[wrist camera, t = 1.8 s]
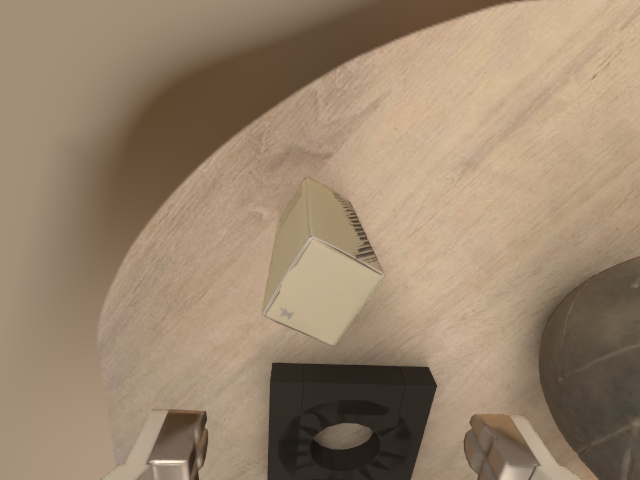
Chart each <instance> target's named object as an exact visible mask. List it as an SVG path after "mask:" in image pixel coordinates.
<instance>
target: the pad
mask: <svg viewBox="0 0 640 480" xmlns="http://www.w3.org/2000/svg"><path fill="white" fill-rule="evenodd" d="M436 387H437V385H436V383H435V380H434V378H433V376H432V374H431V371H430V369H429V367H403V366H400V367H399V366H369V365H331V364H292V363H272V371H271V380H270V410H269V446H268V480H411V476H412V473H413V469H414V466H415V462H416V458H417V455H418V451H419V448H420V444H421V441H422V437H423V434H424V430H425V426H426V423H427V419H428V416H429V412H430V409H431V405H432V402H433V398H434V395H435V391H436ZM341 423H357V424H360V425H363V426H367V427H369V428H370V429H372V430H373V431H374V432H375V433H374V434H373V435H372V436H371V438H370V439H369V440H368V441H367V442H365V443H363V444H362V445H360V446H359V447H355V448H351V449H348V450H332V449H328V448H325V447H322V446H320V445H319V444H318V443H316V442H315V441H314V440H313V438H314V437H315V436H316V434H318V433H319V432H321V431H322V430H324V429H325V428H327V427H329V426H333V425H337V424H341Z"/></svg>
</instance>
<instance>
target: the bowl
mask: <svg viewBox="0 0 640 480" xmlns="http://www.w3.org/2000/svg"><path fill="white" fill-rule="evenodd" d="M539 372H540V381H541V386H542V389H543V393H544V396H545V399H546V402H547V404H548V407H549V409H550V412H551V414H552V417H553V419H554V421H555V423H556V425H557V427H558V428H559V430H560V432H561V433H562V435H563V436H564V438H565V439H566V441H567V442H568V444H569V445H570V446H571V447H572V449H573V450H574V451H575V452H576V453H577V454H578V456H579V458H580V459H581V460H582V461H583V462H584V463H585V464H586V466H587V467H588V468H589V469H590V470H591V471H592V472H593V473H594V474H595V475H596V476H597V478H598V479H599V480H640V256H639V257H636V258H634V259H631V260H628V261H625V262H623V263H620V264H618V265H616V266H613V267H611V268H609V269H607V270H604V271H602V272H601V273H599V274H597V275H594V276H593V277H591V278H589V279H588V280H586V281H585V282H584V283H582V284H581V285H579V286H578V287H577V288H575V289H574V290H573V291H572V292H571V293H570V294H568V295H567V297H566V298H565V299H564V300H563V301H562V303H561V304H560V305H559V306H558V308H557V309H556V310H555V312H554V313H553V315H552V316H551V318H550V319H549V321H548V323H547V325H546V327H545V329H544V333H543V336H542V339H541V344H540V351H539Z"/></svg>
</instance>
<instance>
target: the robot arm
mask: <svg viewBox="0 0 640 480" xmlns="http://www.w3.org/2000/svg"><path fill="white" fill-rule="evenodd" d="M206 421H207V416H206V411H194V410H168V409H152V411H151V412H150V413H149V414H148V416H147V418H146V420H145V422H144V424H143V426H142V428H141V431H140V433H139V435H138V437H137V439H136V441H135V443H134V445H133V447H132V449H131V452H130V454H129V456H128V458H127V460H126V462H125V464H119V465H118V466H116V467H115V468H114V469H113V470H112V471H110V473H108V474H107V475H106V476H105V477H104V478H102V479H101V480H199V476H198V471H199V470H200V469H201V468H202V467H203V465H204V461H205V457H206V452H207V445H208V430H207V429H206V428H205V424H206ZM470 425H471V427H472V429H470V430H469V431H468V432H466V434H465V438H464V452H465V455H466V459H467V461H468V464H469V466H470V467H471V468H472V469H473V470H474V471H475V472H476V473H477V474H478V478H477V480H582V479H581V478H579V477H578V476H577V475H575V474H574V473H573V472H571V471H570V470H569V469H567V468H566V467H565V466H559V465H558V463H557V462H556V460H555V459H554V458H553V456H552V455H551V453H550V452H549V450H548V449H547V447H546V446H545V444H544V443H543V442H542V440H541V439H540V437H539V436H538V434H537V433H536V431H535V430H534V428H533V427H532V425H531V424H530V423H529V421H528V420H527V418H526V417H524V416H523V415H504V414H475V415H473V416H472V417H471V420H470Z"/></svg>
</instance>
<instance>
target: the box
mask: <svg viewBox="0 0 640 480" xmlns="http://www.w3.org/2000/svg"><path fill="white" fill-rule="evenodd" d="M384 276H385V275H384V272H383V270H382V268H381V266H380V264H379V262H378V260H377V257H376V255H375V253H374V251H373V249H372V247H371V245H370V243H369V240H368V239H367V236H366V234H365V232H364V230H363V228H362V226H361V224H360V222H359V219H358V217H357V215H356V213H355V211H354V209H353V207H352V204H351V202H350V201H349V200H347V199H345V198H344V197H342V196H340V195H339V194H337V193H335V192H334V191H332V190H330V189H329V188H327V187H325V186H323V185H321V184H319V183H317V182H315V181H314V180H312V179H310V178H305V179H304V181H303V182H302V184H301V185H300V187H299V189H298V190H297V192H296V194H295V195H294V197H293V199H292V200H291V202H290V204H289V206H288V207H287V209H286V211H285V213H284V215H283V216H282V218H281V220H280V222H279V224H278V226H277V230H276V236H275V242H274V248H273V253H272V258H271V264H270V269H269V274H268V280H267V286H266V292H265V297H264V302H263V309H262V316H263V317H265V318H267V319H269V320H271V321H273V322H276V323H278V324H280V325H282V326H285V327H287V328H289V329H291V330H294V331H296V332H299V333H301V334H303V335H306V336H308V337H311V338H313V339H316V340H318V341H320V342H323V343H325V344H328V345H331V346H334V345H335V344H336V343H337V342H338V341H339V339H340V338H341V337H342V336H343V334H344V333H345V332H346V331H347V329H348V328H349V326H350V325H351V324H352V322H353V321H354V320H355V318H356V317H357V316H358V314H359V313H360V312H361V310H362V309H363V307H364V306H365V305H366V303H367V302H368V300H369V299H370V298H371V296H372V295H373V293H374V292H375V290H376V289H377V287H378V286H379V284H380V283H381V281H382V280H383V278H384Z"/></svg>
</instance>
